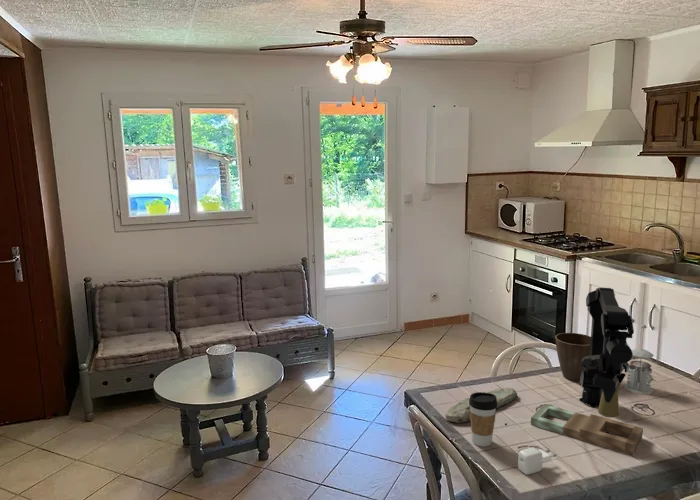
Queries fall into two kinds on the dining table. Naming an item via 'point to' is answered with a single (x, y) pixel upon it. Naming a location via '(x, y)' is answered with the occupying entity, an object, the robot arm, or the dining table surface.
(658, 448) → the dining table surface
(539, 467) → the power adapter
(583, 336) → the plant pot
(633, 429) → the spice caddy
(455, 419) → the elongated rock
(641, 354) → the french press
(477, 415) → the coffee cup
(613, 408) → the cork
